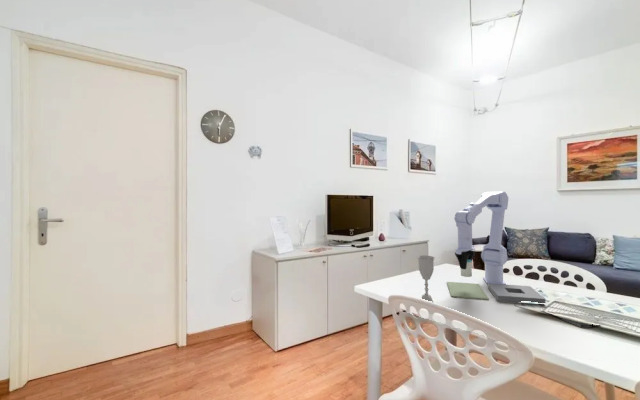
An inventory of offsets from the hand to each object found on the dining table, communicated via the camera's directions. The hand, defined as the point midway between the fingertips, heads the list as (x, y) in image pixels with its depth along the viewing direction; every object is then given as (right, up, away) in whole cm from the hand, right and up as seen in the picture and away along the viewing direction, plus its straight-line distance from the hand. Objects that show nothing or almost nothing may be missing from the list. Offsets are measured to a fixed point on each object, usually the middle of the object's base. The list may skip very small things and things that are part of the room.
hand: (465, 267), depth 129 cm
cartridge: (0, -3, 0) cm, 3 cm away
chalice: (-21, -11, -10) cm, 26 cm away
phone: (+21, -11, -29) cm, 37 cm away
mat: (0, -10, 0) cm, 10 cm away
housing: (+16, -10, -8) cm, 21 cm away
